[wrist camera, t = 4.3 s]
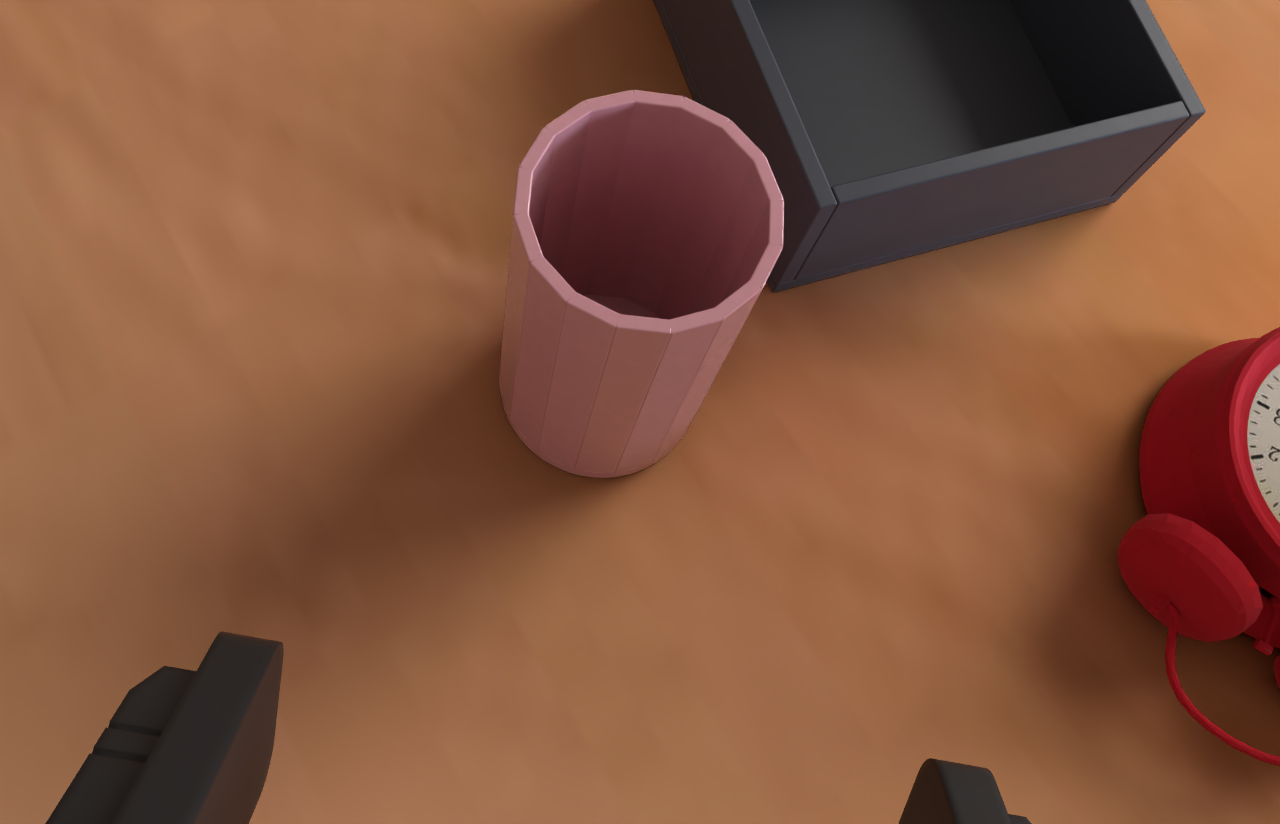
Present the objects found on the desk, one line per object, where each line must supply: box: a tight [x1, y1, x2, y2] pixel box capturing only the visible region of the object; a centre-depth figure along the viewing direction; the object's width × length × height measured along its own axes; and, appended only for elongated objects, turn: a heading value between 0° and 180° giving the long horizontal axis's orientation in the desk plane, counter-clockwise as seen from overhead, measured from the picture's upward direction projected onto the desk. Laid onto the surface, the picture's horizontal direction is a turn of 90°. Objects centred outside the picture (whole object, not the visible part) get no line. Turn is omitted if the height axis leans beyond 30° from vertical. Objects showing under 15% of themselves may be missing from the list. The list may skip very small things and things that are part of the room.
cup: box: [499, 90, 784, 478], centre depth 32 cm, size 6×6×11 cm
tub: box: [654, 0, 1206, 292], centre depth 40 cm, size 13×13×6 cm
